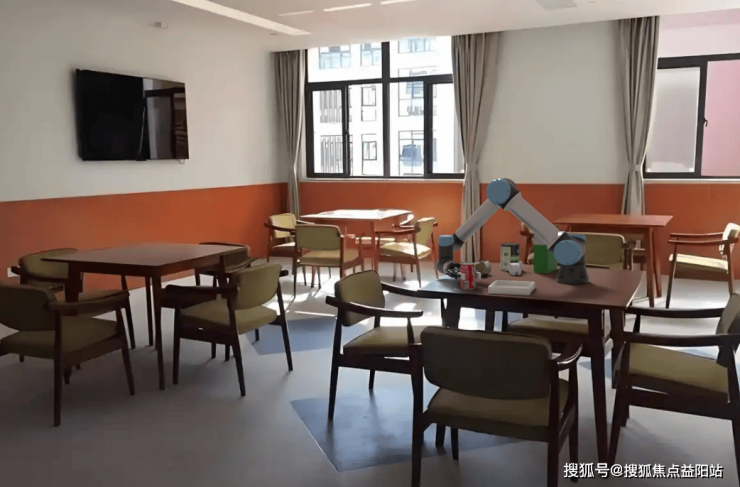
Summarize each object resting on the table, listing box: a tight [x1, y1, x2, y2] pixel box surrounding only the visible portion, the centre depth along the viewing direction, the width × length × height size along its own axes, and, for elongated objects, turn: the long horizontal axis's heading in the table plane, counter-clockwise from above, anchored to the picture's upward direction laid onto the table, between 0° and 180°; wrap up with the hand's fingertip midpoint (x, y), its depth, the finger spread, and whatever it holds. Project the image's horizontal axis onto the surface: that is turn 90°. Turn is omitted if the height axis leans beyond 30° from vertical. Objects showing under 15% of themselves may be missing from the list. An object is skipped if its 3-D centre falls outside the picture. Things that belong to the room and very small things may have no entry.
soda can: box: [459, 261, 477, 291], centre depth 304 cm, size 7×7×12 cm
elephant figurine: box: [507, 260, 524, 276], centre depth 342 cm, size 8×10×7 cm
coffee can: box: [499, 242, 521, 272], centre depth 358 cm, size 10×10×14 cm
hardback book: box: [533, 224, 559, 274], centre depth 351 cm, size 18×7×24 cm, turn 148°
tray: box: [487, 279, 536, 296], centre depth 299 cm, size 18×18×3 cm
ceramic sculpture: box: [473, 259, 492, 277], centre depth 341 cm, size 11×9×15 cm
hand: (472, 276), depth 300 cm, fingers closed on soda can, 7 cm apart
